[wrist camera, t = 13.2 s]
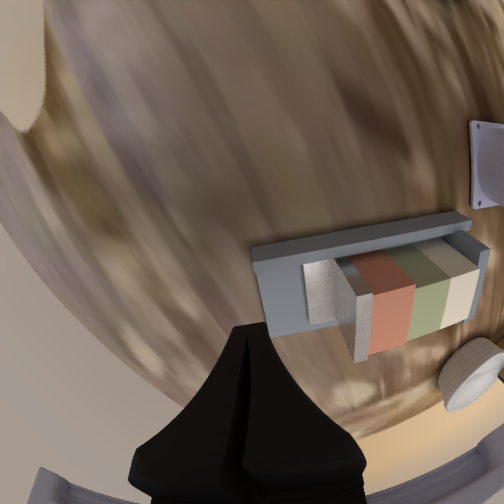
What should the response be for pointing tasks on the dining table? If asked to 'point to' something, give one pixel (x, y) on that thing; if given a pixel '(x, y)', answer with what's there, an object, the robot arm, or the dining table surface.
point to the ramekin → (470, 373)
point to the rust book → (386, 298)
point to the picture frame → (503, 374)
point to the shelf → (344, 244)
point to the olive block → (423, 289)
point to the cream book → (453, 278)
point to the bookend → (340, 301)
